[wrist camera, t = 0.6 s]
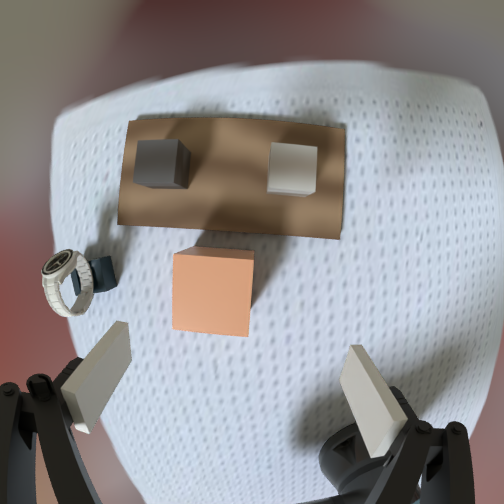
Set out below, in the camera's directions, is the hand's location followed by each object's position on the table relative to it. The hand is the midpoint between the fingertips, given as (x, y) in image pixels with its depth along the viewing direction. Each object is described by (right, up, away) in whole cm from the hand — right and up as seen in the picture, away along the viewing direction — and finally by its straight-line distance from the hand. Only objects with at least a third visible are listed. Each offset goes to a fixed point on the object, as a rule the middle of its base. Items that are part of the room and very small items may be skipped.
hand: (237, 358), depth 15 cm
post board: (-2, +16, +19) cm, 25 cm away
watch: (-21, +3, +21) cm, 30 cm away
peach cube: (-3, +3, +20) cm, 21 cm away
